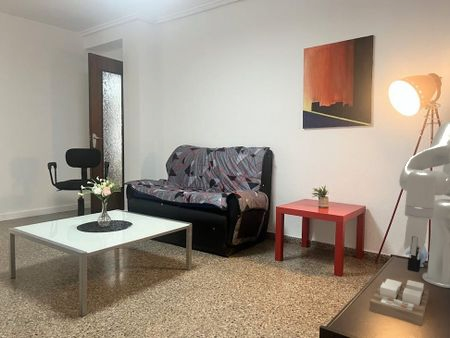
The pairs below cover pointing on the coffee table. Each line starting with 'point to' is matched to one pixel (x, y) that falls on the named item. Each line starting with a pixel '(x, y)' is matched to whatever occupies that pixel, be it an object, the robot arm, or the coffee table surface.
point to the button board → (399, 306)
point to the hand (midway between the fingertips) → (413, 270)
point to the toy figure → (421, 256)
